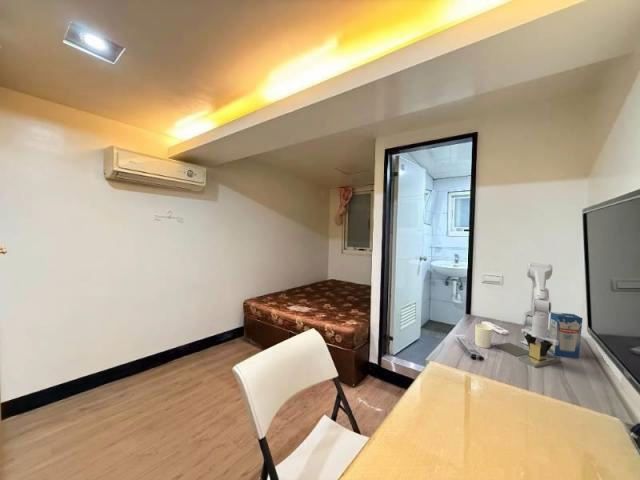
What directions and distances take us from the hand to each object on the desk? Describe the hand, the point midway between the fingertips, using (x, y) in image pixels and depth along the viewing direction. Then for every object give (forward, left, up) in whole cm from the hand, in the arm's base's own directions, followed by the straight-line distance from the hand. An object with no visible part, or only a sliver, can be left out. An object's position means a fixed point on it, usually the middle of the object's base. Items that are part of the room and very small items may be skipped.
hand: (537, 353), depth 126 cm
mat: (-1, -12, -4) cm, 13 cm away
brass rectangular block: (0, 0, -3) cm, 3 cm away
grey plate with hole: (-2, 0, -4) cm, 4 cm away
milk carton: (-21, -1, -4) cm, 21 cm away
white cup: (+10, -20, -4) cm, 23 cm away
